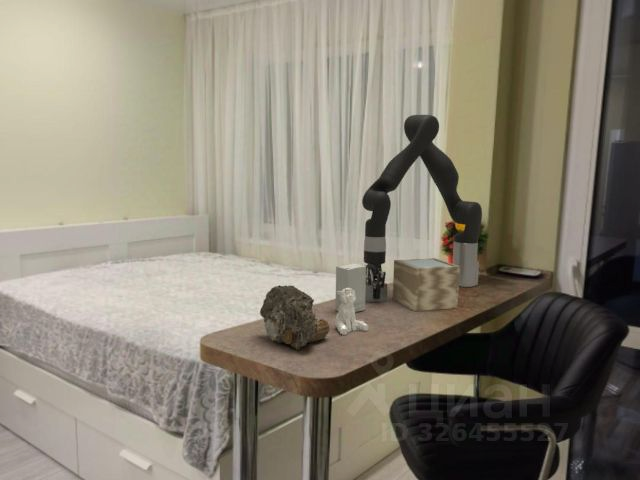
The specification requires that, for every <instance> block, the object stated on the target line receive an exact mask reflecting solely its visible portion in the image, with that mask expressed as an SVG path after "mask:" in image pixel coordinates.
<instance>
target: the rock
mask: <svg viewBox="0 0 640 480" xmlns="http://www.w3.org/2000/svg"><path fill="white" fill-rule="evenodd" d="M314 302H315V300H314V299H313V297H311V295H308V293H305V291H302V290H300V289H299V288H297V287H295V285H278V286H277V285H276V286H273V287H272V288H271V289H270V290H269V291H267V293H266V294H265V298H264V299H263V303H262V306H261V308H260V309H259V314H260V316H261V317H262V318H263V321H264V329H265V332H266V334H267V336H268V337H269V338H270V339H271V341H273V342H274V341H276V342H277V343H279V344H281V343H284V344H286V345H290V346H291V347H293V348H294V349H295V350H296V349H297V351H300V349H301V347H303V346H304V347H305V346H306V345H307V343H314V342H318V340H319V341H320V339H321V340H322V339H324V338H326V337H327V335H328V334H329V332H330V330H331V329H330V324H329V323H328V321H326V320H325V319H324V318H321V319H319V320H318V318H316V315H317V314H316V313H315V312H313V306H314Z"/></svg>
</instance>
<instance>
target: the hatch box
mask: <svg viewBox="0 0 640 480" xmlns="http://www.w3.org/2000/svg"><path fill="white" fill-rule="evenodd" d="M428 259H434V260H436V261H439V262H442V263H445V264H448V265H451V266H445V267H425V268H417V267H414V266H411V265H409V264H406V263H403V262H401V261H406V260H428ZM459 272H460V266H457V265H454V264H453V263H450V262H448V261H444V260H442V259H438V258H435V257H433V258H413V259H412V258H411V259H394V260H393V281H392V282H393V283H392V284H393V285H392V300H393V301H395V302H397V303H399V304H400V305H403V306H404V307H406V308H408V309H410V310H411V311H414V312H421V311H422V312H423V311H434V310H447V309H458V307H459V287H460V286H459Z"/></svg>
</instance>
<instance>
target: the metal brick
mask: <svg viewBox="0 0 640 480" xmlns="http://www.w3.org/2000/svg"><path fill="white" fill-rule="evenodd" d="M381 283H382V282H381ZM387 301H388V283H386V282H385V283H384V288H381V289H380V299H377V300H375V299H374V285H373V282H366V286H365V303H375V302H376V303H377V302H387Z"/></svg>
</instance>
